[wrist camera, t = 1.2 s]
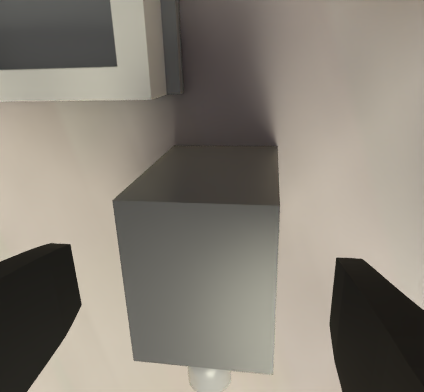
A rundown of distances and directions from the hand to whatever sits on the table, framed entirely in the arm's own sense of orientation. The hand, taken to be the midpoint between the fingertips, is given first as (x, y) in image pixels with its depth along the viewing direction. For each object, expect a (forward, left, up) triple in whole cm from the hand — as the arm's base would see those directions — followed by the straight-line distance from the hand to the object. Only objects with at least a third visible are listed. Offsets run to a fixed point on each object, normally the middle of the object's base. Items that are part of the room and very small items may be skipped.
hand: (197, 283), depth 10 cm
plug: (0, 0, -6) cm, 6 cm away
